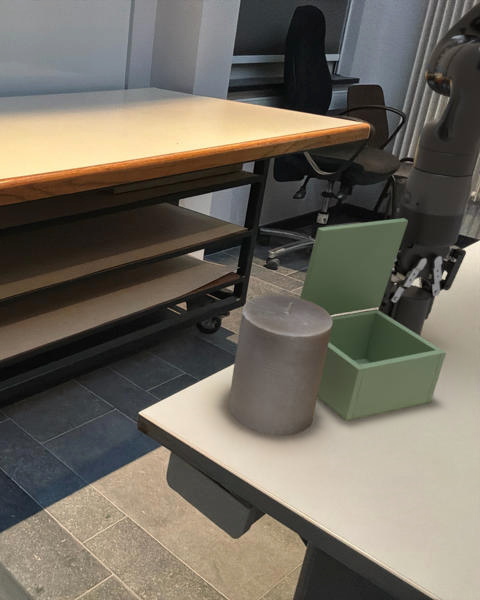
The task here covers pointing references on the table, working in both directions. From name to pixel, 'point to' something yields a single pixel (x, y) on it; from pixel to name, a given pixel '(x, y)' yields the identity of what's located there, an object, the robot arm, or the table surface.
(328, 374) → the bread box
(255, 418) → the pillar candle
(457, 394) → the table surface
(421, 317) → the dark grey cylinder
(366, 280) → the lid
